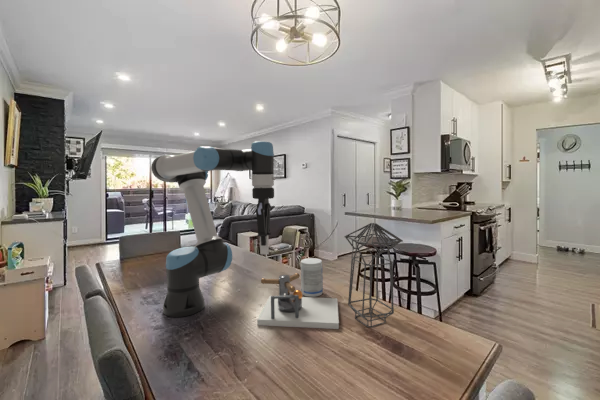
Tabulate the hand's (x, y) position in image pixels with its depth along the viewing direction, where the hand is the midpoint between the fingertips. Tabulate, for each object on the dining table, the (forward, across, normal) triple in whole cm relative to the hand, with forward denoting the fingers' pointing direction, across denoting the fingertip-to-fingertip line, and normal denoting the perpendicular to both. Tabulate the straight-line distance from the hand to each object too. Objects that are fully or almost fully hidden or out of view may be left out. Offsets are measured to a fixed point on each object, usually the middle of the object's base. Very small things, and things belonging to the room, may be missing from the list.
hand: (264, 253), depth 100 cm
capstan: (+22, +6, -5) cm, 23 cm away
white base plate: (+24, +6, -12) cm, 28 cm away
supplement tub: (+24, +25, -15) cm, 38 cm away
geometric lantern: (+25, +4, -38) cm, 45 cm away
